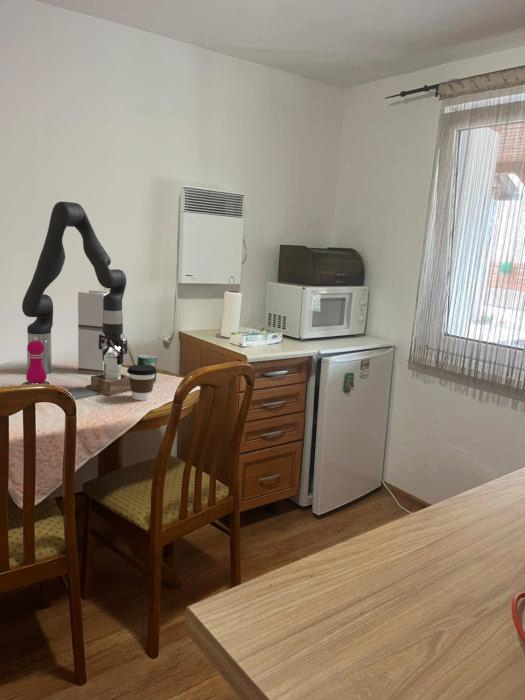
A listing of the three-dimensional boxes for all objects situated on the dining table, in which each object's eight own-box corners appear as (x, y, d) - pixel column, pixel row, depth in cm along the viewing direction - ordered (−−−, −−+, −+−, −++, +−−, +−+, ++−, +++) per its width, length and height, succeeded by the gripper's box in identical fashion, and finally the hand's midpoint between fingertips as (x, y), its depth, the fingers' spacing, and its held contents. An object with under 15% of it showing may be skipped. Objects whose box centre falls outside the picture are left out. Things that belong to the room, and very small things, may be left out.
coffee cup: (124, 394, 204) (125, 364, 201) (153, 393, 208) (154, 363, 205) (128, 403, 194) (129, 371, 191) (158, 401, 198) (159, 370, 196)
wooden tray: (86, 388, 209) (86, 376, 208) (114, 382, 220) (115, 370, 219) (109, 396, 201) (109, 383, 200) (137, 389, 212) (138, 377, 211)
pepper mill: (50, 386, 209) (49, 336, 205) (40, 391, 202) (39, 339, 198) (32, 384, 209) (31, 334, 205) (22, 389, 202) (21, 337, 198)
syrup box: (106, 386, 213) (106, 351, 210) (121, 387, 213) (121, 352, 211) (103, 390, 207) (103, 354, 204) (118, 391, 208) (118, 355, 205)
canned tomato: (133, 381, 223) (133, 355, 221) (145, 377, 230) (145, 353, 228) (147, 384, 220) (148, 358, 217) (160, 381, 226) (160, 355, 224)
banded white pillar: (113, 369, 240) (114, 292, 233) (103, 375, 230) (103, 294, 223) (89, 367, 242) (89, 290, 235) (78, 372, 232) (78, 292, 225)
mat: (56, 393, 200) (56, 392, 200) (81, 388, 209) (81, 386, 209) (74, 400, 194) (74, 398, 194) (99, 394, 202) (99, 392, 202)
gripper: (92, 320, 206) (93, 361, 209) (117, 324, 198) (116, 367, 201) (108, 318, 212) (108, 358, 215) (132, 323, 204) (132, 364, 207)
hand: (112, 362), depth 208 cm, fingers open, 8 cm apart
